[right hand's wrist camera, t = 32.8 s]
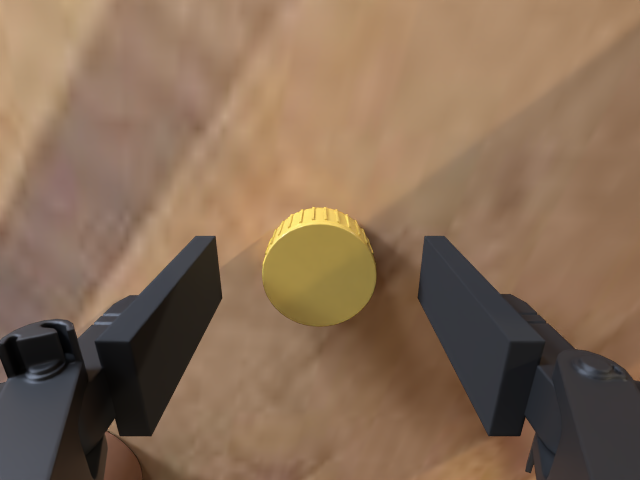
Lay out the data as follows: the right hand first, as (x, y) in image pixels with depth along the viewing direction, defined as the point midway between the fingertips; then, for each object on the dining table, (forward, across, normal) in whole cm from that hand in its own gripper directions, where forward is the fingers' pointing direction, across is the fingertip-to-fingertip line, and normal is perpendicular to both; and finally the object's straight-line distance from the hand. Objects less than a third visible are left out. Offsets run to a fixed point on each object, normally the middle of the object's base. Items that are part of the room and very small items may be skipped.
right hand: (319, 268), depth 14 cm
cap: (0, 0, 0) cm, 0 cm away
